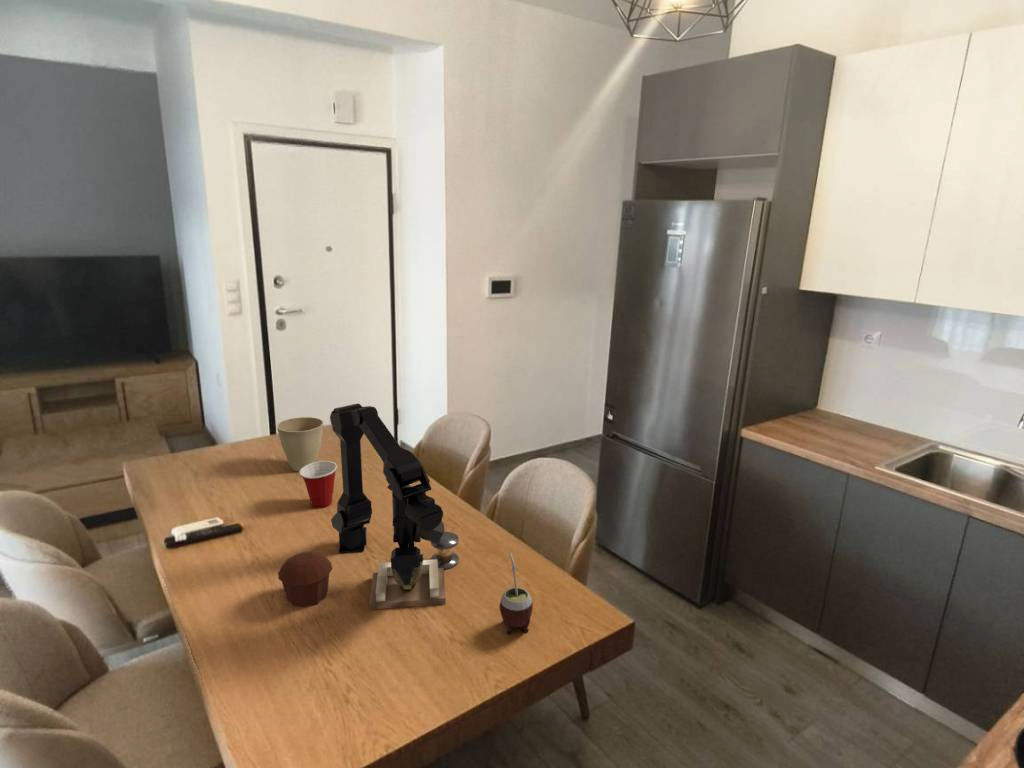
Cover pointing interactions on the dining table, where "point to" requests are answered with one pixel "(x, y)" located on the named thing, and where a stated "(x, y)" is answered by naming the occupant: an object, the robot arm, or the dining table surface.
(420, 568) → the cup
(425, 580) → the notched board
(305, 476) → the plastic cup
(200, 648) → the dining table surface
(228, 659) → the dining table surface
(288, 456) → the plant pot
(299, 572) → the muffin
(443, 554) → the bobbin
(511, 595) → the mate gourd
